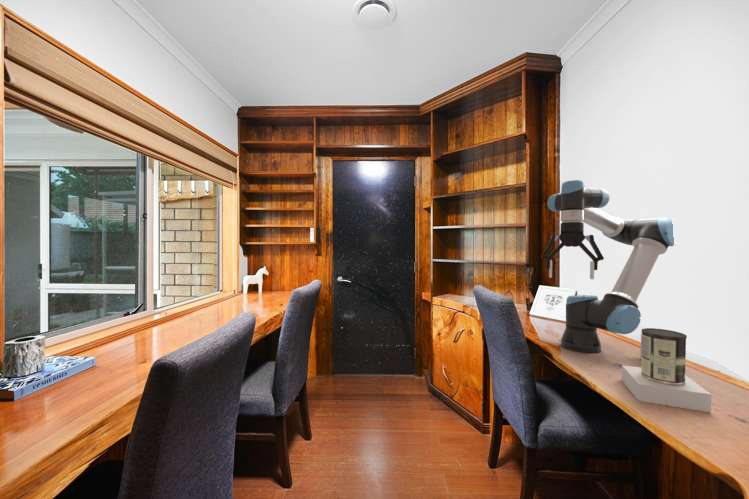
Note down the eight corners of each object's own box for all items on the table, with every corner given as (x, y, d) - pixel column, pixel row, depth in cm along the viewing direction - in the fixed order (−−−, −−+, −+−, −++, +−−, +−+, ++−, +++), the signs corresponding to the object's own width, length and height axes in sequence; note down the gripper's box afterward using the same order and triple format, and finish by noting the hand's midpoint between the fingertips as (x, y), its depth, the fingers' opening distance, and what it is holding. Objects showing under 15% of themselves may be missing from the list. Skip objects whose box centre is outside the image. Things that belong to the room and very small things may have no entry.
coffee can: (670, 373, 103) (671, 329, 103) (694, 387, 93) (696, 338, 93) (633, 370, 105) (634, 326, 105) (653, 383, 95) (654, 335, 95)
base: (621, 379, 110) (621, 365, 110) (682, 388, 104) (682, 373, 104) (638, 401, 95) (638, 384, 95) (710, 412, 89) (711, 394, 89)
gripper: (536, 222, 125) (534, 277, 125) (614, 220, 115) (613, 280, 116) (534, 223, 132) (533, 275, 132) (608, 222, 122) (607, 278, 123)
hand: (570, 278), depth 124 cm, fingers open, 13 cm apart
